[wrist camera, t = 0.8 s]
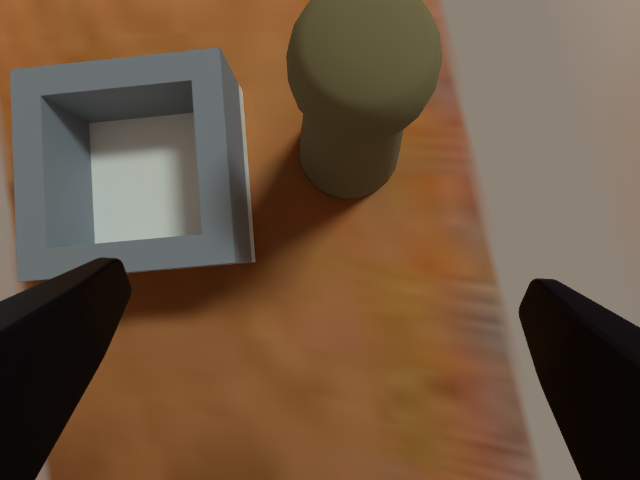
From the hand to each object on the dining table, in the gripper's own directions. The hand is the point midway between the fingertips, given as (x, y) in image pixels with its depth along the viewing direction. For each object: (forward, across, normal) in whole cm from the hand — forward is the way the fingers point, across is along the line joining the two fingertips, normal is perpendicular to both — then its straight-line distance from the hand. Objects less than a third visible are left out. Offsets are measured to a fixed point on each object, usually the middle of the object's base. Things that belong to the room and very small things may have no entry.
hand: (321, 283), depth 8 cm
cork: (+15, -1, +2) cm, 15 cm away
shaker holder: (+13, +10, +4) cm, 17 cm away
